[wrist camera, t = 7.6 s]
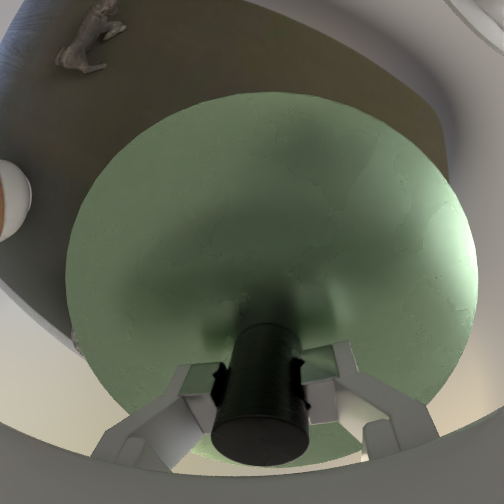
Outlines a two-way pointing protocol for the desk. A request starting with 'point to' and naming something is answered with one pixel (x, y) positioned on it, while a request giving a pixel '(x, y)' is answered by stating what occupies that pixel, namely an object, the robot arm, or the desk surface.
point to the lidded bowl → (13, 198)
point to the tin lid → (270, 266)
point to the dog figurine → (90, 36)
